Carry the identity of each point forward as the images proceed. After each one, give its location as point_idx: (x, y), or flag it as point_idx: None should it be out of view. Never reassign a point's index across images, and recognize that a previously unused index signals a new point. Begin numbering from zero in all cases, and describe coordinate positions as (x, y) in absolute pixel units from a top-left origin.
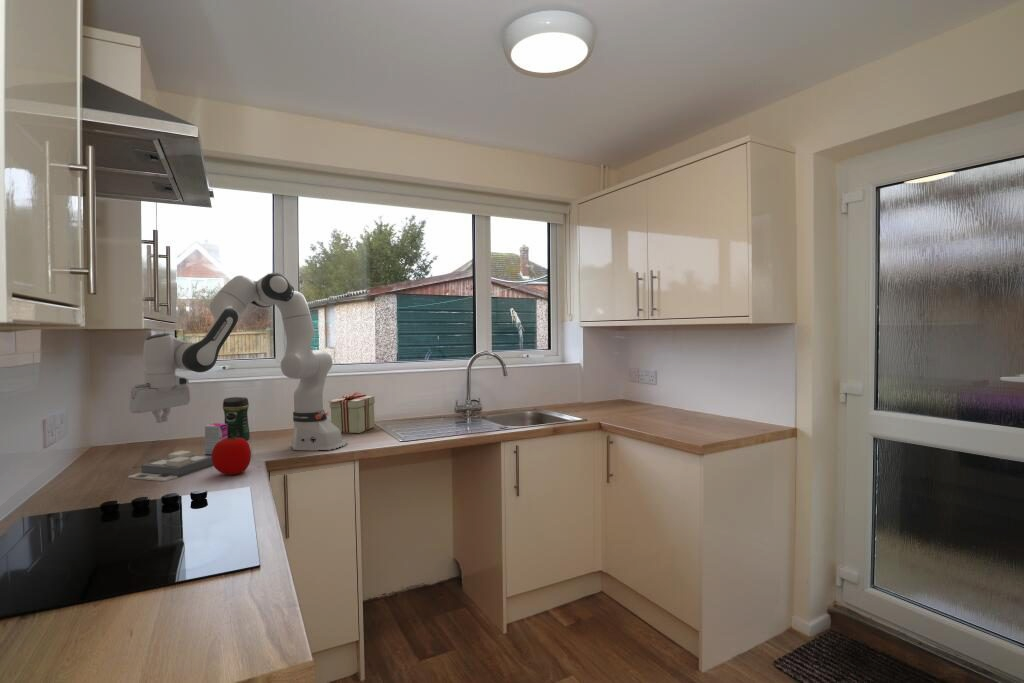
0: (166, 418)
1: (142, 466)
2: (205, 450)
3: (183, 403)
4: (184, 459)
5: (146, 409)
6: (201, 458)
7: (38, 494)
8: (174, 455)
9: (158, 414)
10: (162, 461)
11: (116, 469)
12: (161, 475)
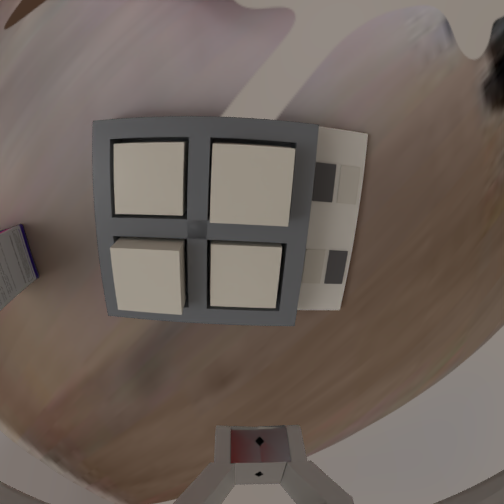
0: (229, 445)
1: (294, 316)
2: (28, 282)
3: (6, 500)
4: (250, 150)
5: (499, 494)
6: (144, 148)
7: (451, 369)
8: (181, 279)
9: (332, 488)
10: (235, 286)
11: (255, 404)
12: (323, 194)
